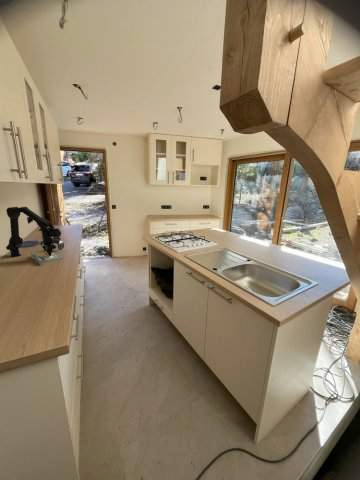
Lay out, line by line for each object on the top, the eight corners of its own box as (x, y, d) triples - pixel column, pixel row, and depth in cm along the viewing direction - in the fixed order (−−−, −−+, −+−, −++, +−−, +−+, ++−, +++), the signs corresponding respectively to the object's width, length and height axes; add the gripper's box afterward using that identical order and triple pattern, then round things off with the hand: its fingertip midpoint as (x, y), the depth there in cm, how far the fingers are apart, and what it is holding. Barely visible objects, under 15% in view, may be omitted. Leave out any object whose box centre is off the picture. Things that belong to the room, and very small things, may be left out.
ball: (44, 256, 165) (43, 250, 164) (51, 254, 169) (50, 249, 168) (46, 257, 162) (45, 251, 161) (53, 256, 166) (53, 250, 165)
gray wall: (31, 256, 166) (30, 252, 165) (33, 256, 167) (32, 251, 166) (40, 265, 151) (39, 260, 150) (42, 264, 152) (42, 259, 151)
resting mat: (36, 257, 166) (36, 255, 166) (55, 253, 176) (55, 252, 176) (42, 262, 156) (42, 261, 155) (62, 258, 166) (62, 256, 166)
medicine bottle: (58, 251, 181) (57, 238, 178) (51, 250, 183) (50, 237, 180) (64, 248, 188) (63, 236, 185) (57, 248, 190) (56, 235, 186)
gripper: (62, 237, 161) (64, 255, 165) (53, 232, 173) (56, 250, 177) (46, 239, 153) (48, 259, 157) (38, 234, 165) (41, 253, 169)
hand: (49, 255), depth 165 cm, fingers closed on ball, 5 cm apart
